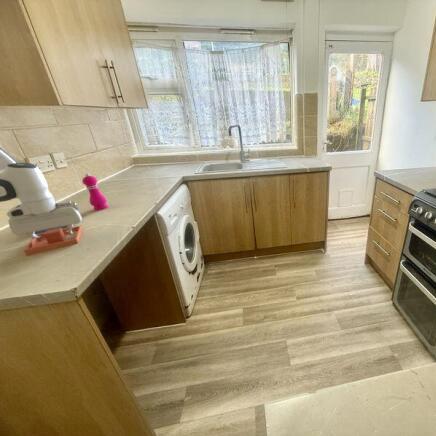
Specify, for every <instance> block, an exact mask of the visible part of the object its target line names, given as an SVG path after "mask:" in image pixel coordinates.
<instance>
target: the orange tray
mask: <svg viewBox="0 0 436 436" xmlns="http://www.w3.org/2000/svg"><path fill="white" fill-rule="evenodd" d="M69 229H70V227H69V228H68V227H66V228H62V231H63V233H64V235H65V240H64V241H62V242H58V243H53V244H48V242H47V240H46V238H45V236H44V234H45V233H46V232H43V233H39V234H36V235H37V236H41V238H42V239H43V240H42V241H39V242H36V240H35V238H33V237H31V240H30V241H29V242H28V243H27V245H26V246H25V248H24V249H23V252H24V254H25V256H26V257H28V256H32V255H36V254H39V253H44V252H48V251H52V250H56V249H60V248H65V247H67V246H68V247H69V246H71V245H75V244H78V243H79V241H80V239H81V236H82V232H83V227H82V225H76V226H73V227H72V232H73V233H74V232H76V234H75V237H74V238H72V239H67V237H68V235H67V233H66V231H67V230H69ZM66 239H67V240H66Z"/></svg>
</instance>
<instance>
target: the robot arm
mask: <svg viewBox="0 0 436 436" xmlns="http://www.w3.org/2000/svg"><path fill="white" fill-rule="evenodd" d="M14 199H15V200H17V199H18V200H19V201H20V203H21V204H18V205H16V206H13V207H11V208H10V209H8V211H7V212H6V215H7V217H8V220H7V221H8V226H9V229H10V231H11V233H12V234H14V235H16V236H20V235H24V234H27V235H28V236H29V237H30V238H35V240H36V242H39V241H42V240H43V239H42V238H41V236H37V235H36V234H34V233H35V231H41V230H46V229H51V228H56V227H61V226H68V227H67V228H70V229H69V230H67V231H66V233H67V236H72V235H73V233H74V232H72V227H74V226H73V224H74V225H76V224H77V225H78V224H80V223H81V222H82V220H83V217H82V214H81V213H80V211H79V206H78V204H77V203H76V202H73V201H65V202H64V201H63V202H56V201H55V198H54V195H53V193H51V192H50V189H49V184H48V182H47V179H46V178H45V176H44V173H43V172H42V170H41V169H40V168H39V167H38V165H36V164H34V163H30V162H29V163H28V162H19V161H18V160H16V159H15V158H14V157H13V156H12V155H11V154H9V153H8V152H7V151H6V150H5V149H3V148H2V147H1V146H0V203H2V202H3V203H4V202H8V201H12V200H14Z"/></svg>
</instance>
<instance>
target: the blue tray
mask: <svg viewBox="0 0 436 436" xmlns="http://www.w3.org/2000/svg"><path fill="white" fill-rule="evenodd" d="M73 227H75V224H73ZM58 228H62V229H66V228H68V226H61V227H56V228H51V229H46V230H41V231H35V233H34V234H41V233H46V231H47V230H53V229H58Z"/></svg>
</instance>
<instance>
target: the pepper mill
mask: <svg viewBox="0 0 436 436" xmlns="http://www.w3.org/2000/svg"><path fill="white" fill-rule="evenodd" d="M84 175H85V176H84V177H83V178H82V184H83V185H84V186H85V188H86V190H88V192H89V204H90V205H91V206H92V208H93V211H96V210H97V211H103V210H105V209H108V208H109V206H108V204H107V201H108V200H107V198H106V197H105V196H104V195H103V194H102V193H101V191H100V190H99V185H98V179H97V178H96V177H95V176H93V175H91V174H90V173H89V172H86V173H85V174H84Z"/></svg>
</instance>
